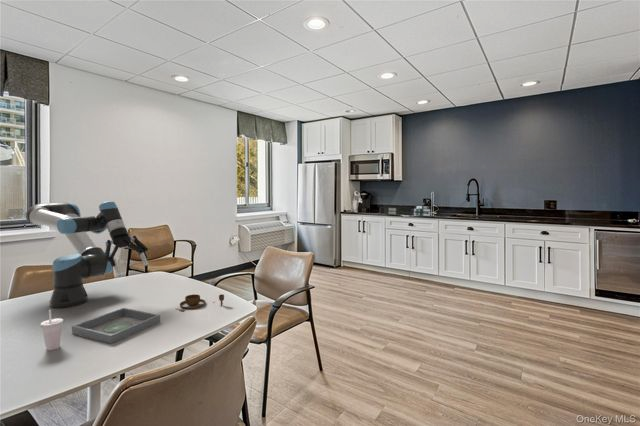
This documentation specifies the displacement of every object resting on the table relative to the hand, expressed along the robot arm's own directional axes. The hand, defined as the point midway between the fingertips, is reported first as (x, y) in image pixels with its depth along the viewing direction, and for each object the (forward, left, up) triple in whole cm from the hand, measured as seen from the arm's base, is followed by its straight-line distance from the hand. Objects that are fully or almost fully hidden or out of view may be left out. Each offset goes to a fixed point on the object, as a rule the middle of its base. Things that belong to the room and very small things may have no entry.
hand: (132, 268), depth 160 cm
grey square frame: (+17, -21, -18) cm, 33 cm away
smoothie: (+12, -42, -19) cm, 48 cm away
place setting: (+31, +11, -19) cm, 38 cm away
